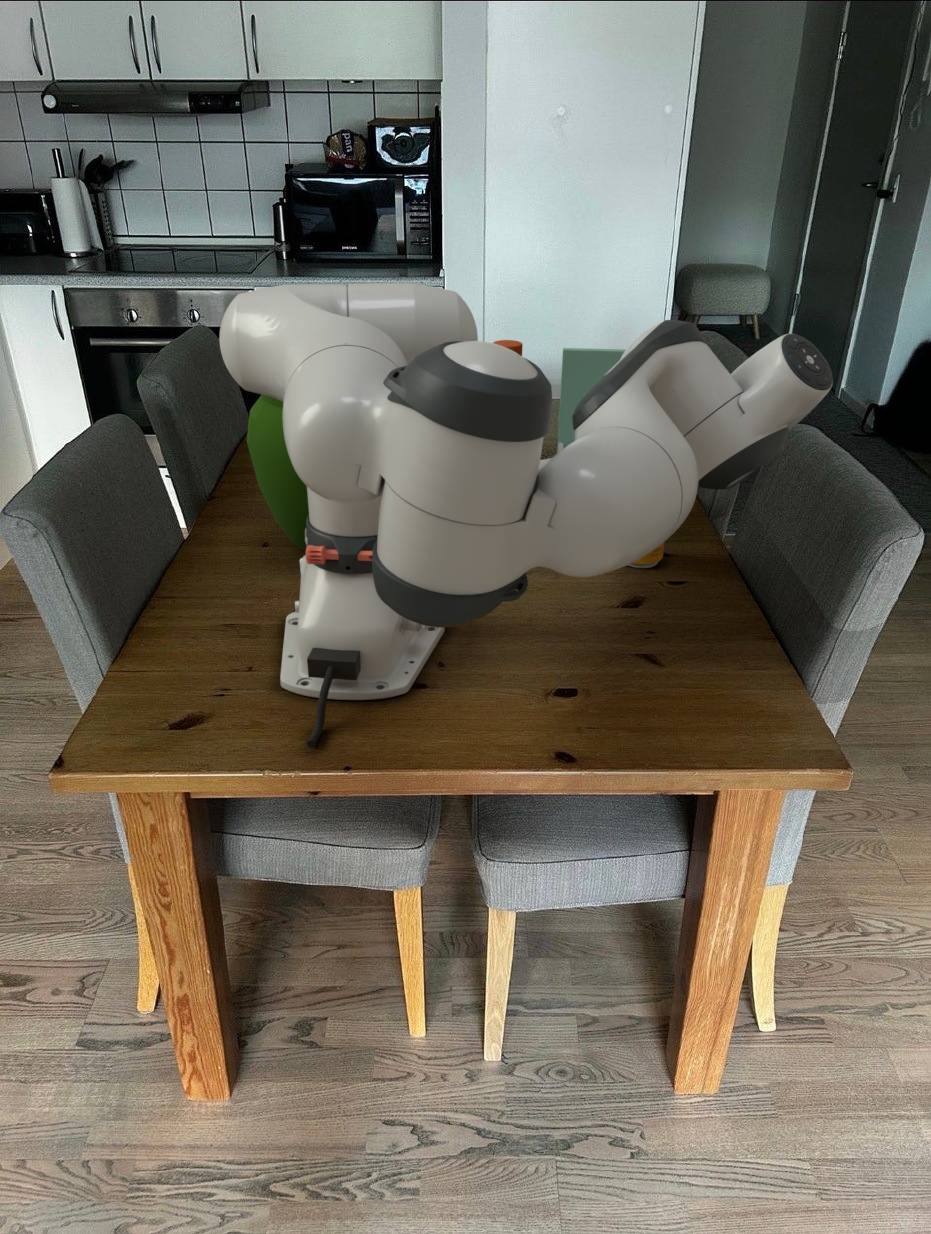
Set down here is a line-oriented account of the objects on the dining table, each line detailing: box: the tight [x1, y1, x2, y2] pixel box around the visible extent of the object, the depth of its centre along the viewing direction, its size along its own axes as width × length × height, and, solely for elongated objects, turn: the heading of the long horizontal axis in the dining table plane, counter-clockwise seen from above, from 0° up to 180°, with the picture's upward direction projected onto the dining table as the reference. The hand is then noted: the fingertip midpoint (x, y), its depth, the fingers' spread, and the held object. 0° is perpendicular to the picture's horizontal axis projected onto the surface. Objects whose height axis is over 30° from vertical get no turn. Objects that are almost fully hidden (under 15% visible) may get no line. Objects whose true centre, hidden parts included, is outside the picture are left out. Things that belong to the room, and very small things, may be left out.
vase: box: [246, 394, 309, 553], centre depth 127 cm, size 20×20×24 cm
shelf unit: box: [556, 347, 626, 454], centre depth 135 cm, size 13×14×24 cm
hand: (657, 487), depth 123 cm, fingers open, 8 cm apart
